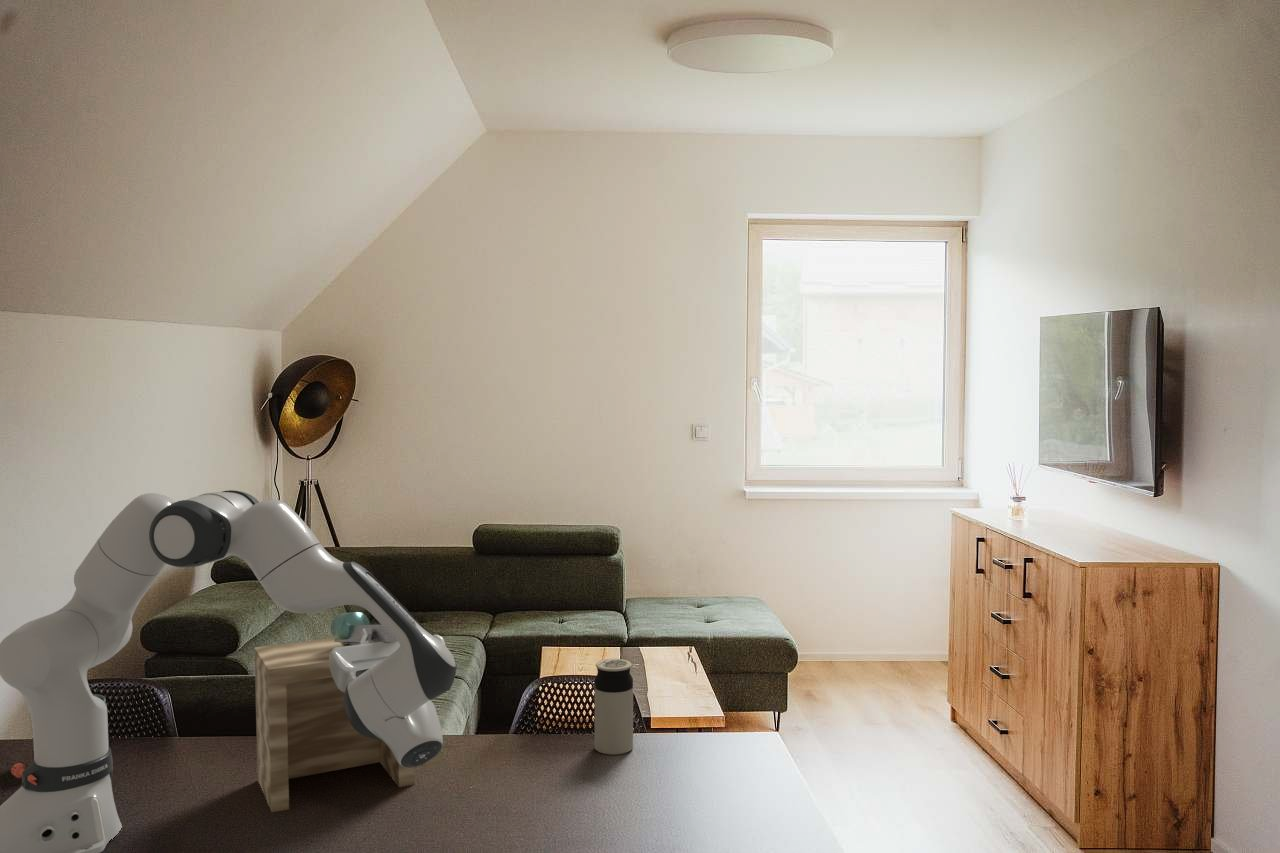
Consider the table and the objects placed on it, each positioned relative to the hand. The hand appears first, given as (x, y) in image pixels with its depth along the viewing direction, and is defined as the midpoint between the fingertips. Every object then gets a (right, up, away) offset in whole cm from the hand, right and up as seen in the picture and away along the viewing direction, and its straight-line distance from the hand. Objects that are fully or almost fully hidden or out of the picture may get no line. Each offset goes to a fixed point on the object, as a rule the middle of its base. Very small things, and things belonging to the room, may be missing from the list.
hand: (379, 629), depth 189 cm
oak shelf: (-11, -31, +10) cm, 35 cm away
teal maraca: (-3, -3, +3) cm, 5 cm away
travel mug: (+42, -30, +28) cm, 59 cm away
